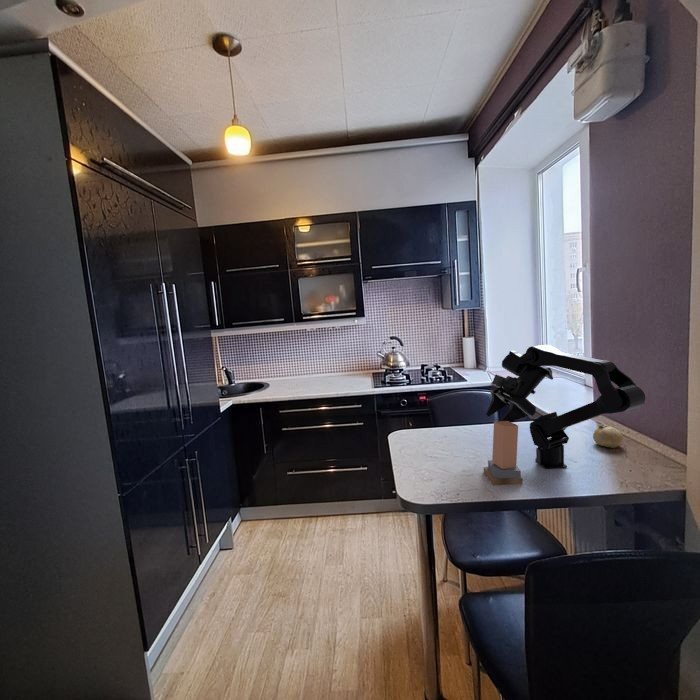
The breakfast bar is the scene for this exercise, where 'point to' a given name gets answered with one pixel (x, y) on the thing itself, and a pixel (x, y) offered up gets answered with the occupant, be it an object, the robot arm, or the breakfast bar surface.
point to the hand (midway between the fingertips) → (493, 419)
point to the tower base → (502, 481)
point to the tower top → (503, 471)
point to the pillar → (505, 444)
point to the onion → (607, 436)
